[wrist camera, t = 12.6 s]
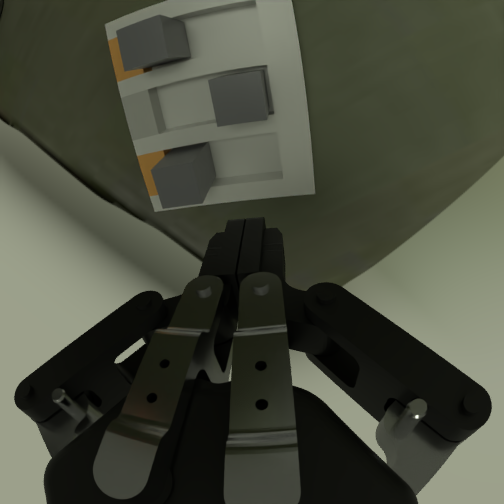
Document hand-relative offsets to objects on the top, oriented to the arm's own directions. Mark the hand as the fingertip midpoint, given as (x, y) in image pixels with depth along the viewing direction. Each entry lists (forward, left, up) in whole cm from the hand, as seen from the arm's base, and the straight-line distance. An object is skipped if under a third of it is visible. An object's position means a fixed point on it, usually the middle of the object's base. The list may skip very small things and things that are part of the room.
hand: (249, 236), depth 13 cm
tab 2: (-7, -1, -17) cm, 18 cm away
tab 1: (-7, +11, -17) cm, 21 cm away
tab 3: (-1, +5, -17) cm, 17 cm away
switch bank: (-4, +5, -18) cm, 19 cm away
